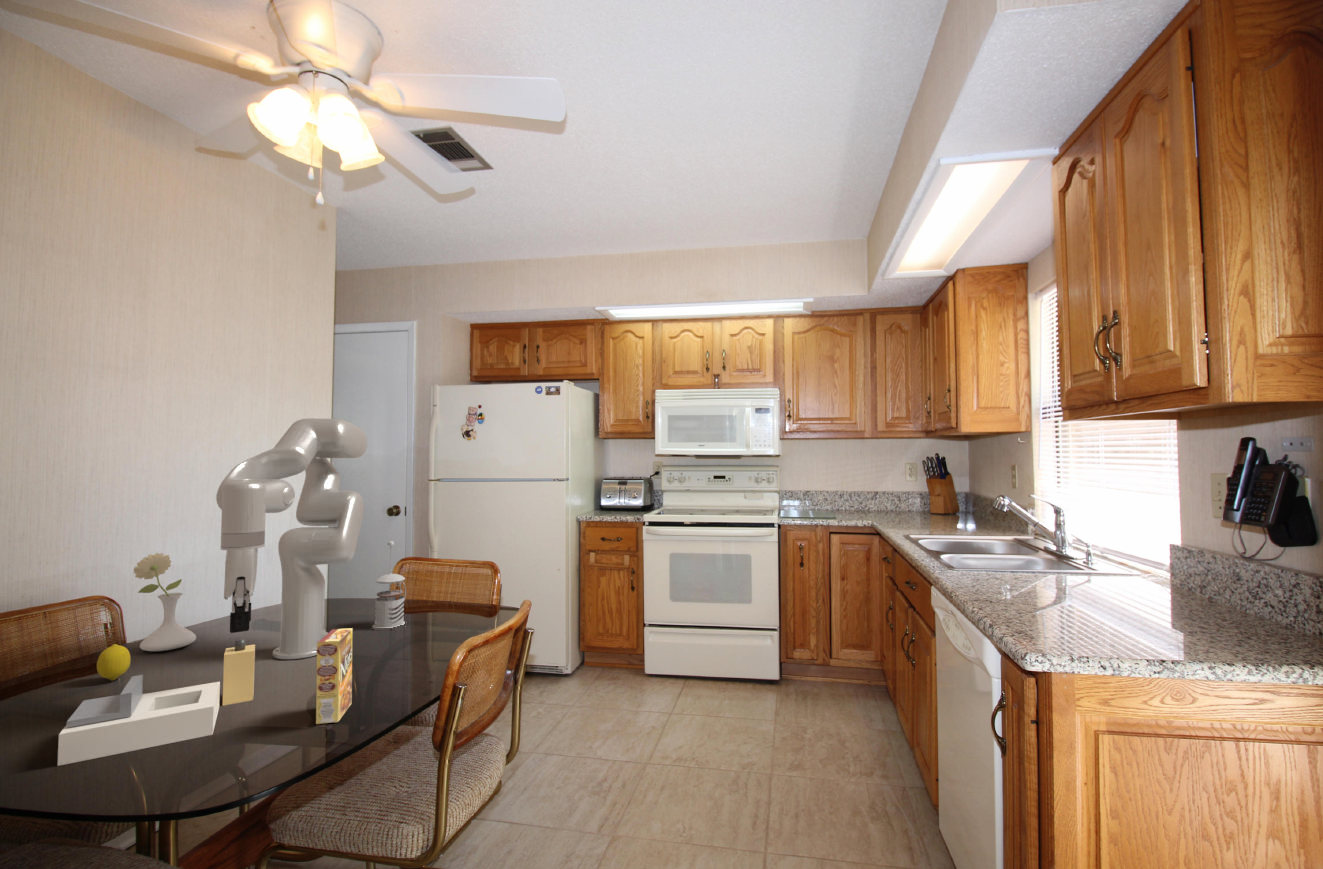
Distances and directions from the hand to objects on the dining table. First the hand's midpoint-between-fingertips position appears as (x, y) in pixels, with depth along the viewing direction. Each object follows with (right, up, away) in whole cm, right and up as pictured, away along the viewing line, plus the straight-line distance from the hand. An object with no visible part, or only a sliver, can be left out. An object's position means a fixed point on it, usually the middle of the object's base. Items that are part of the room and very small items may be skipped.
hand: (240, 626), depth 123 cm
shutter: (-10, -9, -19) cm, 23 cm away
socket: (-5, -14, -16) cm, 22 cm away
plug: (0, -15, -1) cm, 15 cm away
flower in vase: (-42, -16, +31) cm, 54 cm away
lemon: (-35, -15, +9) cm, 39 cm away
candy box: (+24, -15, -8) cm, 29 cm away
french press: (+7, -17, +53) cm, 56 cm away
